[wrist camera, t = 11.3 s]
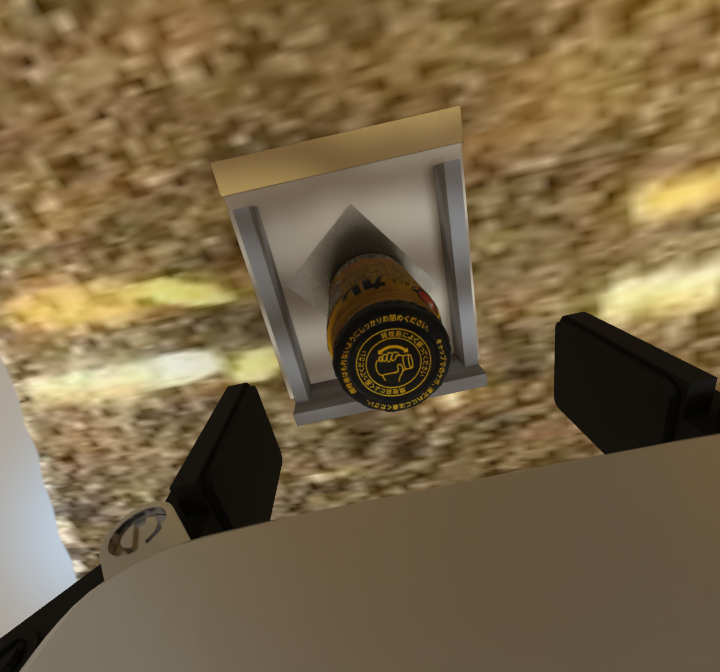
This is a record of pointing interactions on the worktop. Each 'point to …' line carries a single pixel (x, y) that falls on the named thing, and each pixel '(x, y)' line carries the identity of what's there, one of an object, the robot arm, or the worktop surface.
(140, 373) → the worktop surface
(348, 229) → the condiment
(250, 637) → the robot arm
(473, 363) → the dock
